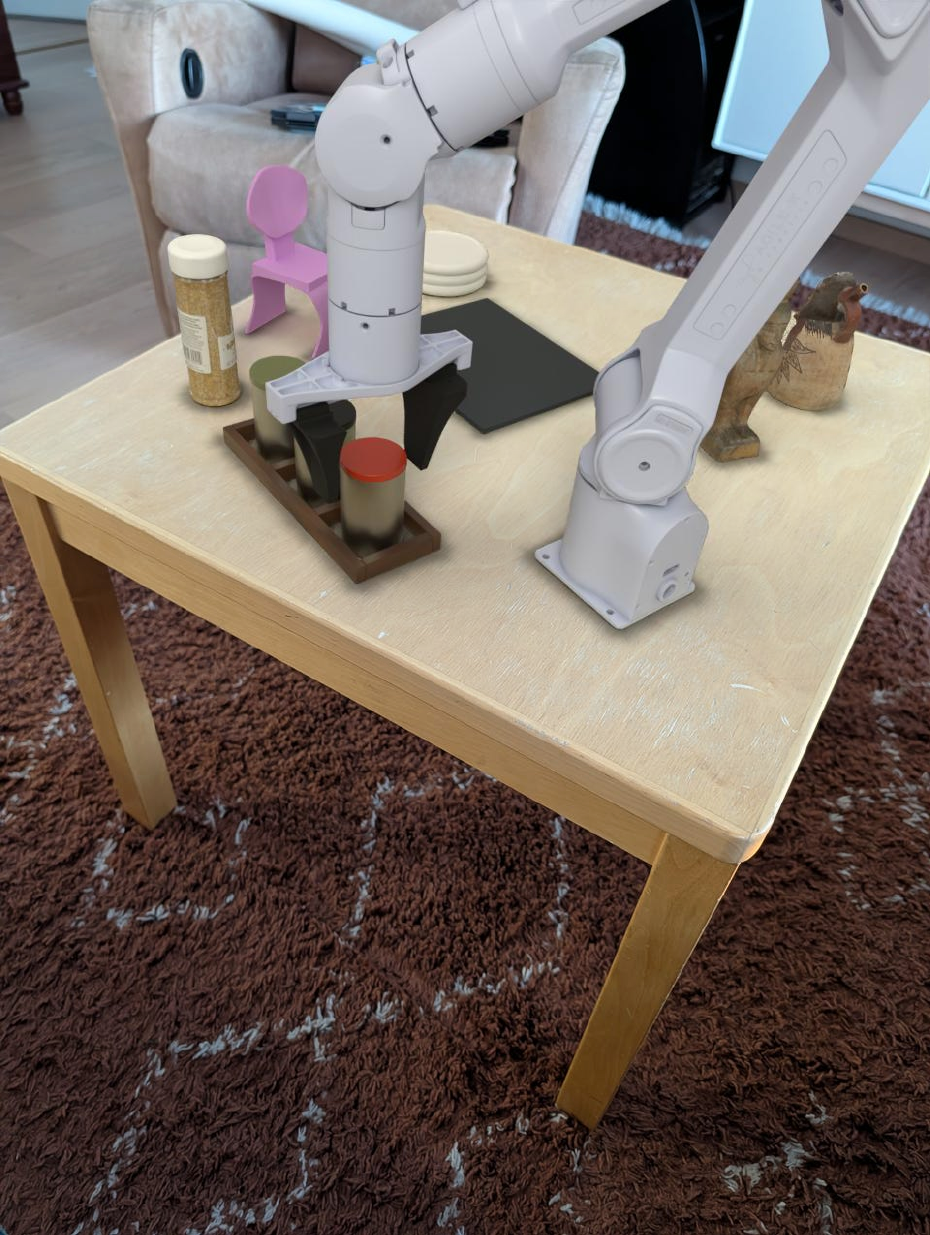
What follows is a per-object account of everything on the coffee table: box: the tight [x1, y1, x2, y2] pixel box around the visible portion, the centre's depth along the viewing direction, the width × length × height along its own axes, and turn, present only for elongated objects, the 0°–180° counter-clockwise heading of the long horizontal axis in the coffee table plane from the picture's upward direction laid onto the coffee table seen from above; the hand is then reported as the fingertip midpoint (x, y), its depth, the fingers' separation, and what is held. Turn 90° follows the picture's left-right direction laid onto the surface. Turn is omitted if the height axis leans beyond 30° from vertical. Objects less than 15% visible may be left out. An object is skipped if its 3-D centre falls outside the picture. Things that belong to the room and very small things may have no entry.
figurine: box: [766, 271, 869, 412], centre depth 86 cm, size 7×7×12 cm
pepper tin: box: [294, 399, 357, 510], centre depth 70 cm, size 5×5×8 cm
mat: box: [420, 297, 600, 435], centre depth 90 cm, size 20×16×1 cm
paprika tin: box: [339, 436, 408, 558], centre depth 67 cm, size 5×5×8 cm
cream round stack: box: [422, 229, 490, 297], centre depth 101 cm, size 10×10×4 cm
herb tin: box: [248, 355, 308, 465], centre depth 74 cm, size 5×5×8 cm
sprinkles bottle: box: [167, 233, 242, 407], centre depth 77 cm, size 5×5×13 cm
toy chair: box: [244, 164, 329, 360], centre depth 85 cm, size 8×9×15 cm
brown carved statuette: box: [699, 276, 801, 463], centre depth 78 cm, size 12×6×18 cm, turn 16°
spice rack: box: [222, 417, 442, 585], centre depth 72 cm, size 21×7×2 cm, turn 37°
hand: (372, 478), depth 65 cm, fingers open, 7 cm apart
